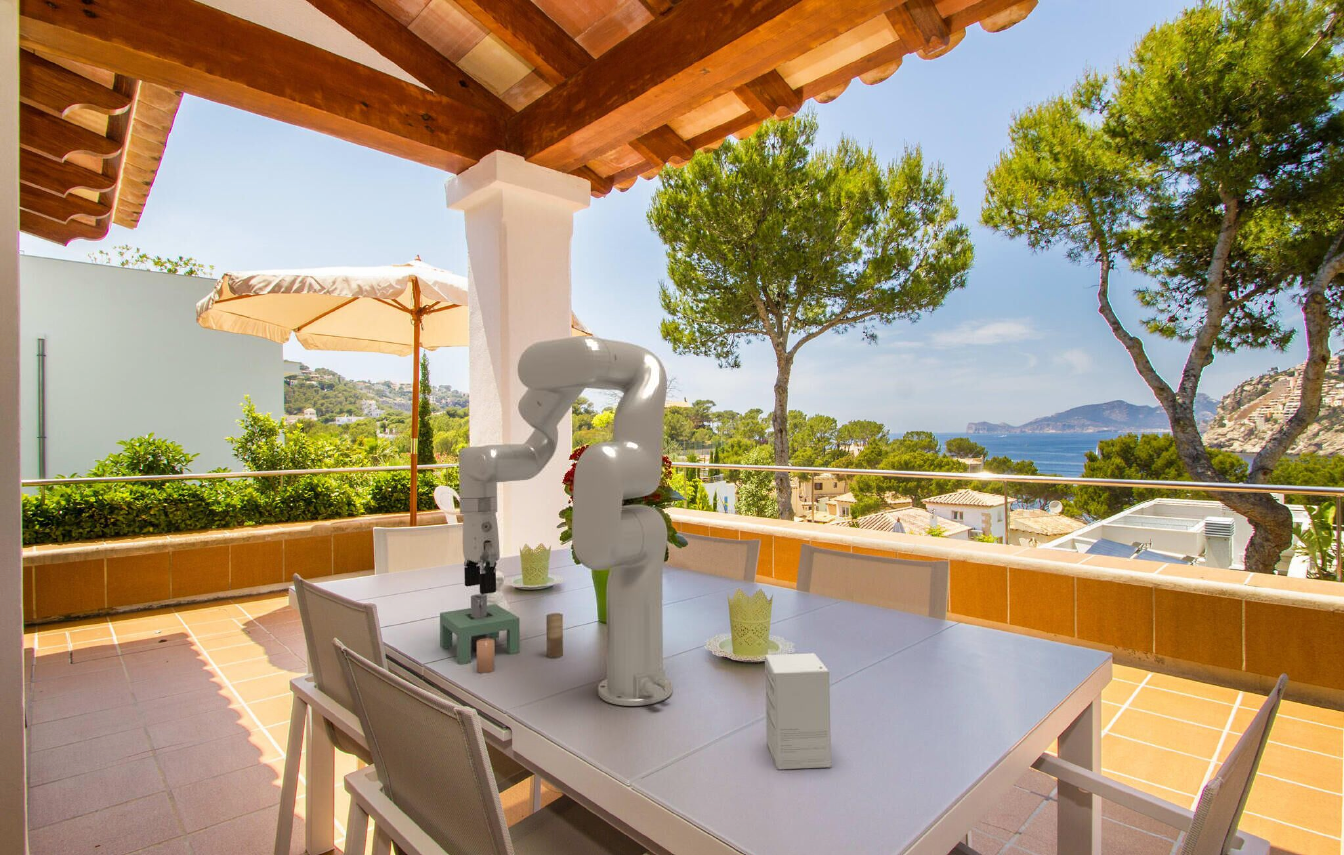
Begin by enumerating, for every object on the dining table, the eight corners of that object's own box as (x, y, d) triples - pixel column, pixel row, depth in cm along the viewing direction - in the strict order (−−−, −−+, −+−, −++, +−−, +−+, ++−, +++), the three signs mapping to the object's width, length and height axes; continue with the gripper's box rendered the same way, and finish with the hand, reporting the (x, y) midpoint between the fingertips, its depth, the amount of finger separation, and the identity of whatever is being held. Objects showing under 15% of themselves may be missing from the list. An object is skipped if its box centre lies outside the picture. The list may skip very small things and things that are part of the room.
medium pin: (565, 656, 130) (565, 615, 131) (550, 659, 129) (550, 618, 129) (558, 651, 133) (558, 612, 133) (544, 654, 131) (543, 614, 131)
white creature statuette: (470, 617, 160) (469, 568, 161) (505, 612, 164) (505, 564, 165) (477, 626, 152) (477, 574, 152) (514, 621, 156) (514, 571, 156)
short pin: (497, 670, 122) (496, 641, 123) (480, 674, 121) (479, 644, 121) (491, 666, 125) (491, 637, 125) (474, 669, 123) (474, 640, 123)
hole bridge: (519, 652, 133) (519, 617, 133) (460, 664, 126) (459, 627, 126) (495, 636, 144) (495, 604, 145) (440, 646, 138) (439, 612, 138)
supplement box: (817, 742, 92) (816, 651, 92) (832, 768, 85) (830, 670, 85) (765, 744, 92) (763, 653, 92) (775, 770, 84) (773, 671, 85)
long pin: (489, 649, 135) (489, 596, 135) (473, 652, 133) (473, 598, 133) (484, 646, 137) (483, 593, 138) (469, 648, 136) (468, 595, 136)
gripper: (511, 507, 131) (512, 593, 130) (482, 502, 145) (484, 580, 145) (473, 510, 127) (475, 599, 126) (448, 505, 141) (449, 585, 140)
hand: (480, 589), depth 135 cm, fingers open, 9 cm apart
